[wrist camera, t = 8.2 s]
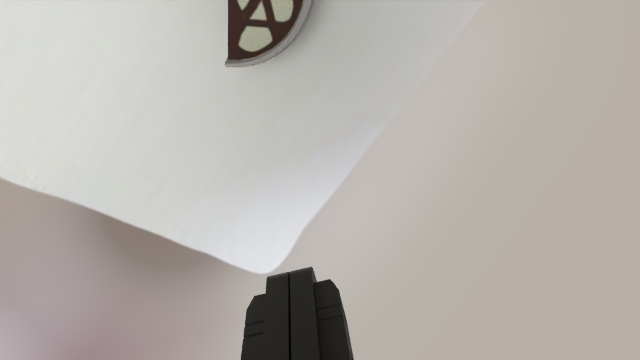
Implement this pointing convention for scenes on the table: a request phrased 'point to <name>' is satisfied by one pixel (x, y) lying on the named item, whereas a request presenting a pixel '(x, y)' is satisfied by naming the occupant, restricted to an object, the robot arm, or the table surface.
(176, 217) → the table surface
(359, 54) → the table surface
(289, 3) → the food container
